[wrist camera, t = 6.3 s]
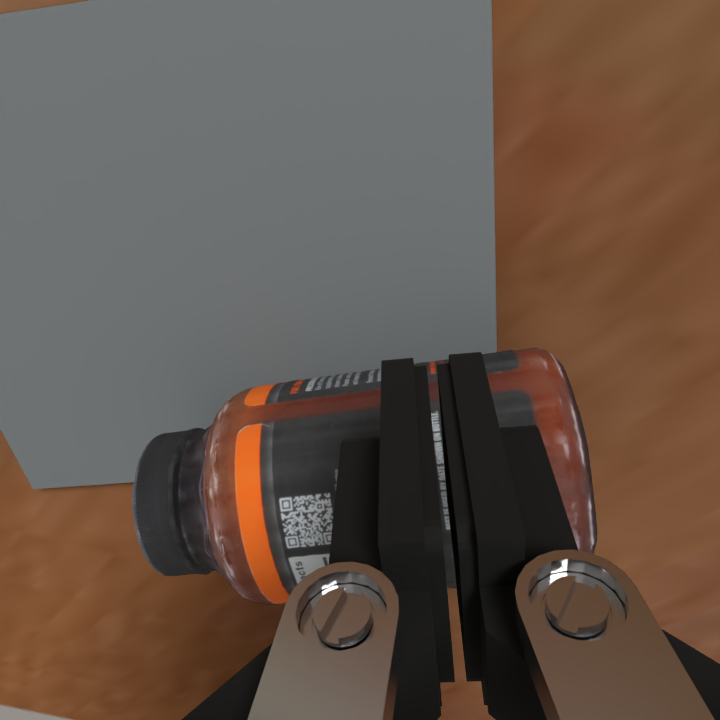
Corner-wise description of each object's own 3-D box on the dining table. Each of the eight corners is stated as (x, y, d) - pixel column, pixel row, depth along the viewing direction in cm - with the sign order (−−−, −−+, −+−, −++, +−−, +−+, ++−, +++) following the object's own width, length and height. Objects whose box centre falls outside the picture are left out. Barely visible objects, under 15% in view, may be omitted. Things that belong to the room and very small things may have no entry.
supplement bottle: (543, 394, 20) (210, 433, 22) (562, 301, 15) (121, 362, 17) (581, 589, 18) (201, 618, 19) (621, 562, 12) (92, 604, 14)
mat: (486, -60, 13) (490, -61, 13) (495, 444, 21) (498, 456, 20) (-189, 43, 15) (-209, 46, 15) (41, 477, 22) (33, 489, 22)
